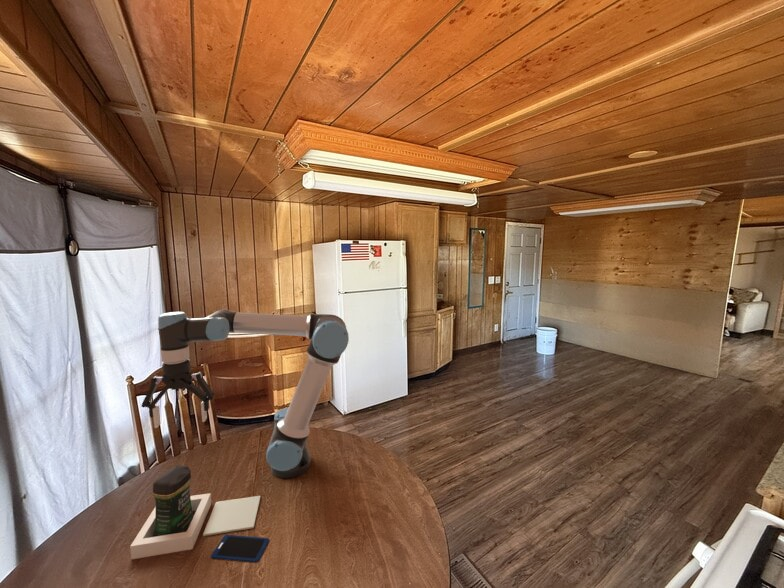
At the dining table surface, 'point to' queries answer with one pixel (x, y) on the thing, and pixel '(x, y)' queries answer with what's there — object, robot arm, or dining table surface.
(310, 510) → the dining table surface
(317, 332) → the robot arm
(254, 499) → the beige board
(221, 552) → the cell phone
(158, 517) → the coffee jar
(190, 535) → the cream open rectangular frame
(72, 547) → the dining table surface
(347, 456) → the dining table surface
